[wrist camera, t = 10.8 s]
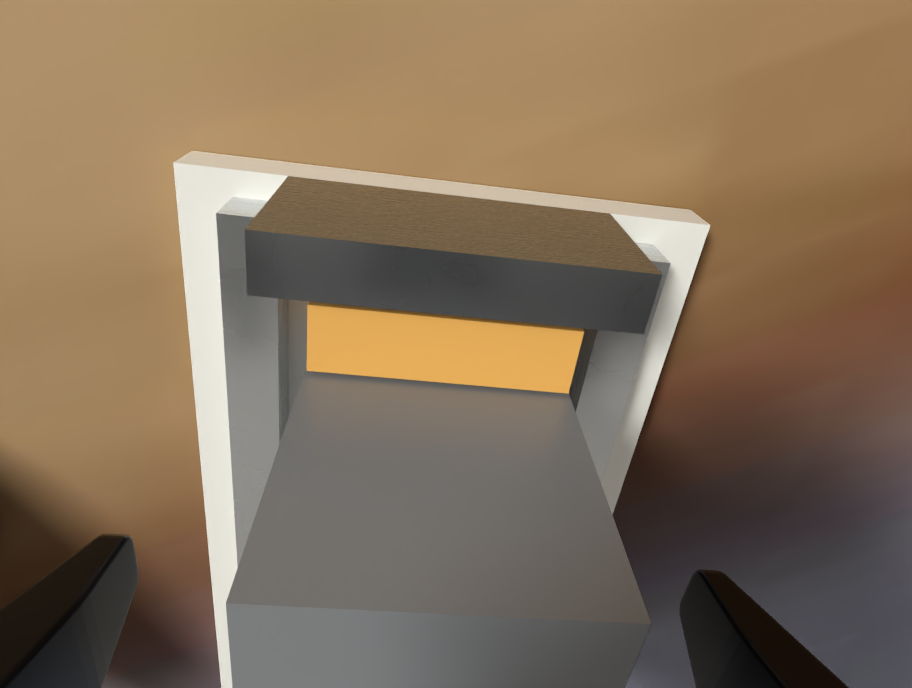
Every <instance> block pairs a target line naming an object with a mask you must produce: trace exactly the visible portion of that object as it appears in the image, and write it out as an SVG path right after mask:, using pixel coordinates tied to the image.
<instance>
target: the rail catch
mask: <svg viewBox="0 0 912 688" xmlns="http://www.w3.org/2000/svg"><path fill="white" fill-rule="evenodd" d="M583 335H584V330H583V328H575V327H564V326H554V325H544V324H534V323H524V322H513V321H503V320H493V319H483V318H472V317H462V316H452V315H442V314H432V313H421V312H411V311H401V310H391V309H380V308H370V307H360V306H350V305H340V304H329V303H319V302H308V305H307V371H315V372H326V373H338V374H349V375H361V376H372V377H384V378H395V379H407V380H418V381H430V382H441V383H452V384H464V385H475V386H487V387H498V388H510V389H521V390H533V391H544V392H556V393H567V394H568V393H569V389H570V385H571V382H572V378H573V374H574V370H575V366H576V362H577V358H578V354H579V351H580V347H581V343H582V339H583Z"/></svg>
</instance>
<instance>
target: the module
mask: <svg viewBox="0 0 912 688" xmlns="http://www.w3.org/2000/svg"><path fill="white" fill-rule="evenodd" d="M226 613H227V625H228V638H229V650H230V662H231V675H232V687H233V688H625V686H626V684H627V681H628V679H629V677H630V674H631V672H632V669H633V667H634V665H635V662H636V660H637V658H638V655H639V653H640V651H641V648H642V646H643V644H644V641H645V639H646V637H647V634H648V632H649V629H650V627H651V625H652V624H651V621H650V618H649V615H648V613H647V610H646V607H645V604H644V602H643V599H642V596H641V593H640V590H639V588H638V585H637V582H636V579H635V576H634V574H633V571H632V568H631V565H630V563H629V560H628V557H627V554H626V551H625V549H624V546H623V543H622V540H621V537H620V535H619V532H618V529H617V526H616V524H615V521H614V518H613V515H612V512H611V510H610V507H609V504H608V501H607V498H606V496H605V493H604V490H603V487H602V485H601V482H600V479H599V476H598V473H597V471H596V468H595V465H594V462H593V459H592V457H591V454H590V451H589V448H588V446H587V443H586V440H585V437H584V434H583V432H582V429H581V426H580V423H579V420H578V418H577V415H576V412H575V409H574V407H573V404H572V401H571V398H570V395H569V393H568V394H567V393H556V392H544V391H533V390H521V389H510V388H498V387H487V386H475V385H464V384H452V383H441V382H430V381H418V380H407V379H395V378H384V377H372V376H361V375H349V374H338V373H326V372H315V371H307V364H306V367H305V370H304V373H303V376H302V379H301V382H300V385H299V388H298V391H297V394H296V397H295V400H294V403H293V406H292V409H291V412H290V415H289V418H288V421H287V424H286V427H285V430H284V432H283V435H282V438H281V441H280V444H279V447H278V450H277V453H276V456H275V459H274V462H273V465H272V468H271V471H270V474H269V477H268V480H267V483H266V486H265V489H264V492H263V495H262V498H261V500H260V503H259V506H258V509H257V512H256V515H255V518H254V521H253V524H252V527H251V530H250V533H249V536H248V539H247V542H246V545H245V548H244V551H243V554H242V557H241V560H240V563H239V566H238V568H237V571H236V574H235V577H234V580H233V583H232V586H231V589H230V592H229V595H228V598H227V601H226Z"/></svg>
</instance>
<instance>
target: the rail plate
mask: <svg viewBox="0 0 912 688" xmlns="http://www.w3.org/2000/svg"><path fill="white" fill-rule="evenodd" d="M173 164H174V175H175V186H176V197H177V208H178V219H179V229H180V240H181V251H182V262H183V273H184V284H185V295H186V306H187V317H188V328H189V339H190V350H191V361H192V372H193V383H194V394H195V405H196V416H197V427H198V438H199V448H200V459H201V470H202V481H203V492H204V503H205V514H206V525H207V536H208V547H209V558H210V569H211V580H212V591H213V602H214V613H215V624H216V635H217V646H218V657H219V668H220V678H221V688H233V687H232V675H231V662H230V650H229V638H228V625H227V613H226V601H227V598H228V595H229V592H230V589H231V586H232V583H233V580H234V577H235V574H236V571H237V568H238V566H239V563H240V560H241V557H242V554H243V551H244V548H245V545H246V542H247V539H248V536H249V533H250V530H251V527H252V524H253V521H254V518H255V515H256V512H257V509H258V506H259V503H260V500H261V498H262V495H263V492H264V489H265V486H266V483H267V480H268V477H269V474H270V471H271V468H272V465H273V462H274V459H275V456H276V453H277V450H278V447H279V444H280V441H281V438H282V435H283V432H284V430H285V427H286V424H287V421H288V418H289V415H290V412H291V409H292V406H293V403H294V400H295V397H296V394H297V391H298V388H299V385H300V382H301V379H302V376H303V373H304V370H305V367H306V364H307V305H308V302H319V303H329V304H340V305H350V306H360V307H370V308H380V309H391V310H401V311H411V312H421V313H432V314H442V315H452V316H462V317H472V318H483V319H493V320H503V321H513V322H524V323H534V324H544V325H554V326H564V327H575V328H583V330H584V335H583V339H582V343H581V347H580V351H579V354H578V358H577V362H576V366H575V370H574V374H573V378H572V382H571V385H570V389H569V395H570V398H571V401H572V404H573V407H574V409H575V412H576V415H577V418H578V420H579V423H580V426H581V429H582V432H583V434H584V437H585V440H586V443H587V446H588V448H589V451H590V454H591V457H592V459H593V462H594V465H595V468H596V471H597V473H598V476H599V479H600V482H601V485H602V487H603V490H604V493H605V496H606V498H607V501H608V504H609V507H610V510H611V512H612V515H613V512H614V509H615V506H616V503H617V500H618V497H619V494H620V491H621V488H622V485H623V482H624V479H625V476H626V473H627V471H628V468H629V465H630V462H631V459H632V456H633V453H634V450H635V447H636V444H637V441H638V438H639V435H640V432H641V429H642V426H643V423H644V420H645V417H646V414H647V411H648V408H649V405H650V402H651V399H652V396H653V394H654V391H655V388H656V385H657V382H658V379H659V376H660V373H661V370H662V367H663V364H664V361H665V358H666V355H667V352H668V349H669V346H670V343H671V340H672V337H673V334H674V331H675V328H676V325H677V322H678V319H679V316H680V314H681V311H682V308H683V305H684V302H685V299H686V296H687V293H688V290H689V287H690V284H691V281H692V278H693V275H694V272H695V269H696V266H697V263H698V260H699V257H700V254H701V251H702V248H703V245H704V242H705V239H706V237H707V234H708V231H709V228H710V225H709V224H708V223H707V222H706V221H704V220H703V219H702V218H700V217H699V216H698V215H697V214H695V213H694V212H693V211H692V210H687V209H679V208H670V207H662V206H653V205H645V204H636V203H628V202H620V201H611V200H603V199H594V198H586V197H578V196H569V195H561V194H552V193H544V192H535V191H527V190H519V189H510V188H502V187H493V186H485V185H477V184H468V183H460V182H451V181H443V180H435V179H426V178H418V177H409V176H401V175H392V174H384V173H376V172H367V171H359V170H350V169H342V168H334V167H325V166H317V165H308V164H300V163H292V162H283V161H275V160H266V159H258V158H249V157H241V156H233V155H224V154H216V153H207V152H199V151H191V152H190V153H188V154H186V155H185V156H183V157H181V158H180V159H178V160H177V161H175V162H173Z"/></svg>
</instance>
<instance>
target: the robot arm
mask: <svg viewBox="0 0 912 688" xmlns="http://www.w3.org/2000/svg"><path fill="white" fill-rule="evenodd" d="M137 582H138V567H137V561H136V555H135V549H134V543H133V540H132V538H131V537H130V536H128V535H121V534H102V535H100V536H98V537H96V538H95V539H94V540H92V541H91V542H90V543H88V544H87V545H86V546H84V547H83V548H82V549H80V550H79V551H78V552H76V553H75V554H74V555H72V556H71V557H70V558H68V559H67V560H66V561H64V562H63V563H62V564H60V565H59V566H58V567H56V568H55V569H54V570H52V571H51V572H50V573H48V574H47V575H46V576H44V577H43V578H42V579H40V580H39V581H38V582H36V583H35V584H34V585H32V586H31V587H30V588H28V589H27V590H26V591H24V592H23V593H22V594H20V595H19V596H18V597H16V598H15V599H14V600H12V601H11V602H10V603H8V604H7V605H6V606H4V607H3V608H2V609H0V688H101V687H102V684H103V681H104V679H105V676H106V673H107V671H108V668H109V665H110V662H111V659H112V656H113V653H114V650H115V647H116V645H117V642H118V639H119V636H120V633H121V630H122V627H123V624H124V621H125V619H126V616H127V613H128V610H129V607H130V604H131V601H132V598H133V595H134V593H135V590H136V586H137ZM680 618H681V623H682V627H683V631H684V636H685V640H686V645H687V649H688V654H689V658H690V663H691V667H692V672H693V676H694V681H695V685H696V688H849V687H848V686H846V685H845V684H844V683H843V682H842V681H841V680H840V679H839V678H838V677H837V676H836V675H834V674H833V673H832V672H831V671H830V670H829V669H828V668H827V667H826V666H825V665H824V664H822V663H821V662H820V661H819V660H818V659H817V658H816V657H815V656H814V655H813V654H812V653H810V652H809V651H808V650H807V649H806V648H805V647H804V646H803V645H802V644H801V643H800V642H798V641H797V640H796V639H795V638H794V637H793V636H792V635H791V634H790V633H789V632H788V631H786V630H785V629H784V628H783V627H782V626H781V625H780V624H779V623H778V622H777V621H776V620H774V619H773V618H772V617H771V616H770V615H769V614H768V613H767V612H766V611H765V610H764V609H762V608H761V607H760V606H759V605H758V604H757V603H756V602H755V601H754V600H753V599H752V598H750V597H749V596H748V595H747V594H746V593H745V592H744V591H743V590H742V589H741V588H740V587H738V586H737V585H736V584H735V583H734V582H733V581H732V580H731V579H730V578H729V577H728V576H726V575H725V574H724V573H722V572H720V571H715V570H697V571H696V572H694V574H693V575H692V578H691V580H690V582H689V584H688V586H687V589H686V591H685V593H684V595H683V597H682V600H681V603H680Z"/></svg>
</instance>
